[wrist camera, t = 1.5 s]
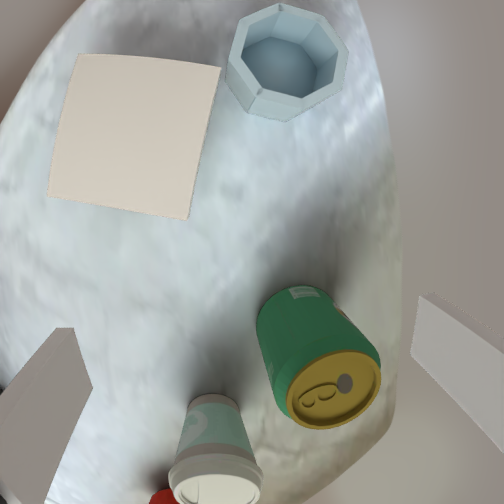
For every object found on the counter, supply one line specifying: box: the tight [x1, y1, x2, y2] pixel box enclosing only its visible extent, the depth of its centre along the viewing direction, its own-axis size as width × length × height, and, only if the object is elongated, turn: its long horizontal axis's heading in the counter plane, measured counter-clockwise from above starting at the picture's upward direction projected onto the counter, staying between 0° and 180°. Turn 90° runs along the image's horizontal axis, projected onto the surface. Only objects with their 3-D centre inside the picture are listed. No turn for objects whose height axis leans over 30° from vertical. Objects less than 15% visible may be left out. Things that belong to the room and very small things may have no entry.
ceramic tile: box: [47, 54, 221, 221], centre depth 21 cm, size 11×11×2 cm
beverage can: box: [256, 285, 381, 430], centre depth 25 cm, size 8×8×12 cm
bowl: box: [225, 3, 349, 122], centre depth 23 cm, size 8×8×6 cm
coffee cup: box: [168, 394, 264, 504], centre depth 27 cm, size 8×8×12 cm
